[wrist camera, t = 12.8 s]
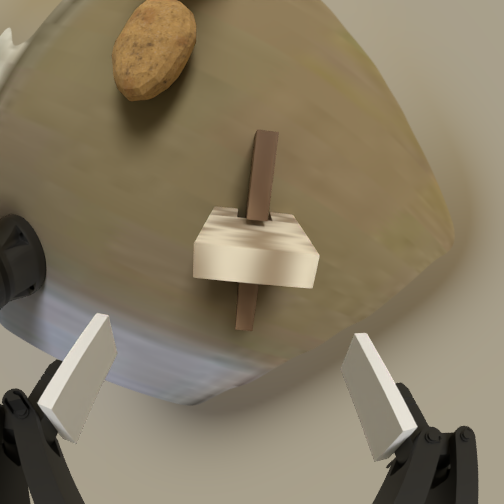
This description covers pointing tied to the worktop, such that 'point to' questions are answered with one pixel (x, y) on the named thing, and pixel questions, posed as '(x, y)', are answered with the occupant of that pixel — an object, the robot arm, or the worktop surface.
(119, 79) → the potato
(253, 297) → the walnut board
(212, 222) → the birch plate
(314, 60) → the worktop surface
